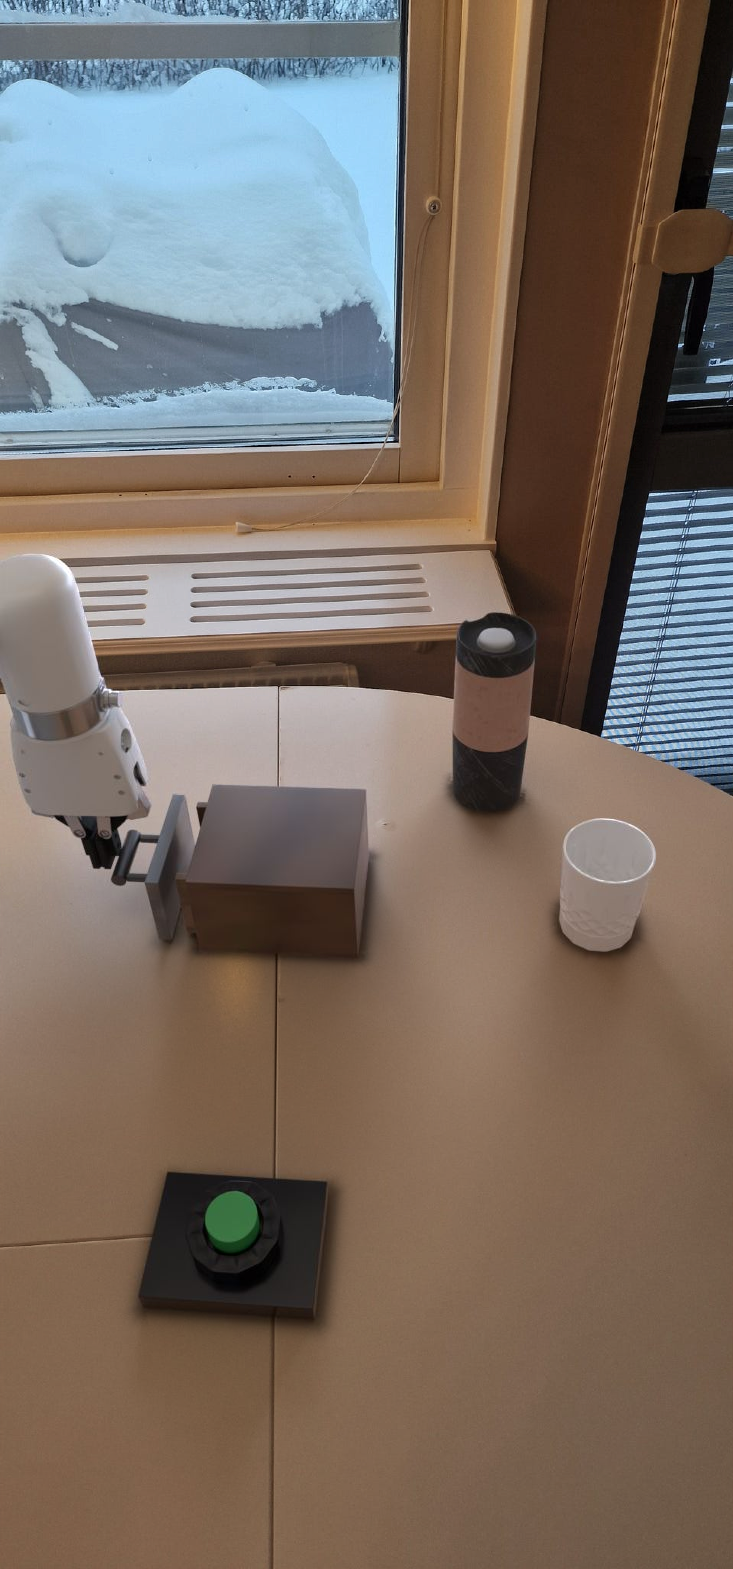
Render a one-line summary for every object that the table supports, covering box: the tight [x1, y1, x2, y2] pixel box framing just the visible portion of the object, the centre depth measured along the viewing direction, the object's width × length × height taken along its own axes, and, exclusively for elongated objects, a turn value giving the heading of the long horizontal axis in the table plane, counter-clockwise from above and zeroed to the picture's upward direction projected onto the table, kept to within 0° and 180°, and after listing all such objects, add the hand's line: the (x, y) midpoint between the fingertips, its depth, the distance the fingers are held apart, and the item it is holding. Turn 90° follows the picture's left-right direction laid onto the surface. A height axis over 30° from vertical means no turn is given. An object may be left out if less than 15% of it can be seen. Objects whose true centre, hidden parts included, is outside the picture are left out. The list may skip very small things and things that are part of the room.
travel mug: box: [451, 611, 537, 813], centre depth 103 cm, size 8×8×20 cm
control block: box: [138, 1171, 330, 1321], centre depth 73 cm, size 12×9×4 cm
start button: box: [205, 1191, 260, 1253], centre depth 72 cm, size 4×4×2 cm
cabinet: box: [185, 783, 370, 959], centre depth 96 cm, size 15×13×10 cm
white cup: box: [558, 818, 657, 953], centre depth 93 cm, size 8×8×10 cm
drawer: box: [110, 793, 208, 941], centre depth 96 cm, size 18×11×8 cm, turn 85°
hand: (106, 857), depth 97 cm, fingers closed
